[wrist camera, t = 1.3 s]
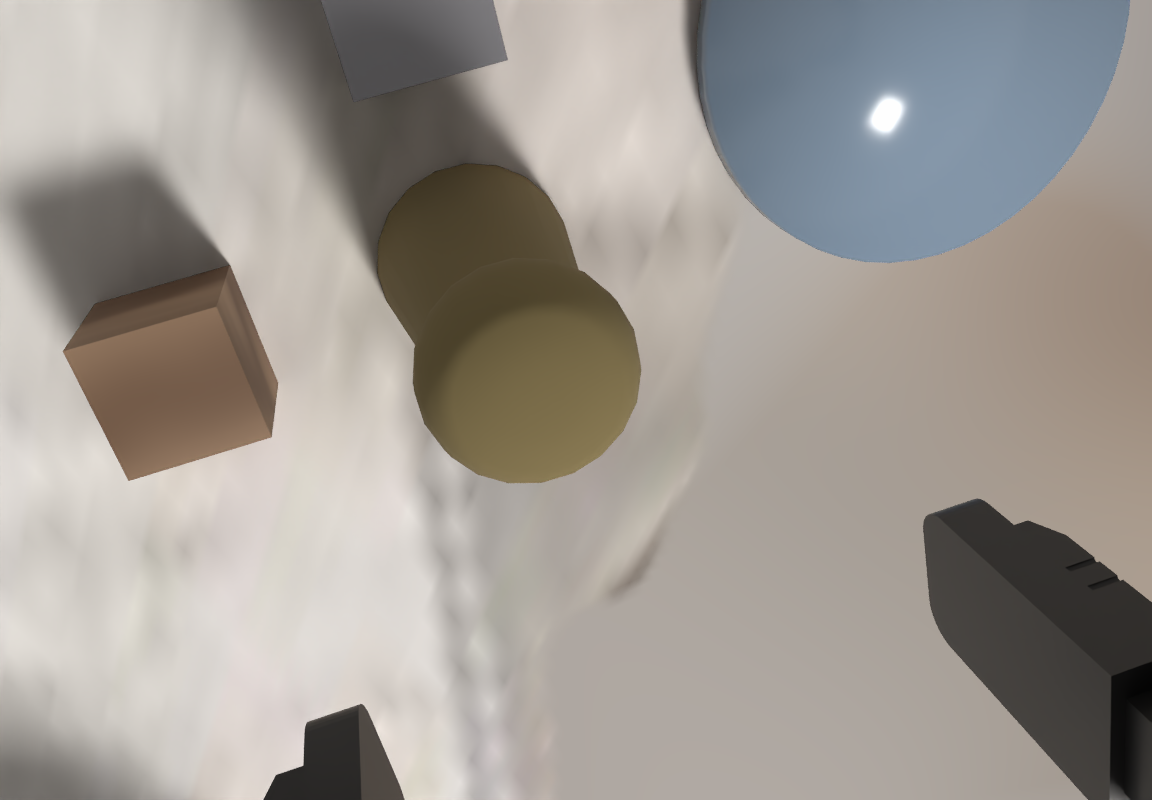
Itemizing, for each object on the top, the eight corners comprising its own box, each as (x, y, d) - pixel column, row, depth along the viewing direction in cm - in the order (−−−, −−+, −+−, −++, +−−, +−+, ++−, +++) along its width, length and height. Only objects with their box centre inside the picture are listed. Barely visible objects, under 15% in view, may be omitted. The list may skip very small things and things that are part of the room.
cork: (596, 305, 33) (710, 456, 23) (426, 381, 32) (469, 566, 23) (527, 130, 30) (624, 217, 20) (341, 212, 30) (347, 341, 20)
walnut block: (95, 302, 29) (62, 351, 26) (230, 264, 30) (216, 306, 26) (151, 420, 31) (128, 480, 27) (278, 382, 31) (271, 437, 28)
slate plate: (657, -159, 27) (668, -163, 27) (1112, -275, 29) (1137, -282, 28) (734, 304, 34) (745, 314, 33) (1106, 190, 35) (1126, 196, 34)
